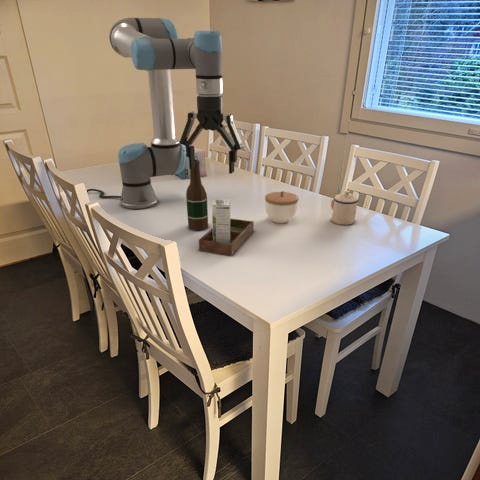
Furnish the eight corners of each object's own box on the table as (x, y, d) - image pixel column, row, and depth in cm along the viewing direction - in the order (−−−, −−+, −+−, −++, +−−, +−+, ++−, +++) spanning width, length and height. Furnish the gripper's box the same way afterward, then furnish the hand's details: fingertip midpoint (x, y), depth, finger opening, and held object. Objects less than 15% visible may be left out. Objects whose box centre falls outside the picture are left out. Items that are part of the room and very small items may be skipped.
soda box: (154, 162, 239) (151, 138, 232) (177, 159, 245) (175, 135, 238) (182, 179, 210) (180, 152, 202) (207, 175, 215) (206, 149, 208)
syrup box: (212, 241, 144) (211, 199, 136) (230, 240, 144) (229, 199, 136) (213, 248, 139) (211, 205, 131) (231, 247, 139) (230, 204, 131)
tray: (199, 250, 139) (198, 240, 137) (224, 227, 157) (223, 217, 155) (231, 255, 136) (231, 245, 134) (253, 231, 153) (253, 221, 151)
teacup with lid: (360, 222, 161) (365, 192, 154) (342, 227, 157) (346, 196, 150) (338, 213, 169) (342, 184, 163) (321, 217, 166) (324, 187, 159)
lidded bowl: (275, 228, 156) (276, 198, 150) (258, 217, 165) (259, 189, 159) (303, 222, 161) (305, 193, 155) (285, 212, 170) (287, 184, 164)
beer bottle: (205, 231, 153) (202, 163, 140) (185, 230, 154) (180, 162, 141) (210, 224, 159) (208, 158, 146) (191, 222, 161) (187, 157, 147)
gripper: (165, 94, 122) (171, 169, 134) (245, 99, 115) (244, 177, 127) (176, 91, 127) (181, 163, 140) (254, 95, 121) (252, 171, 133)
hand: (211, 170), depth 133 cm, fingers open, 13 cm apart
